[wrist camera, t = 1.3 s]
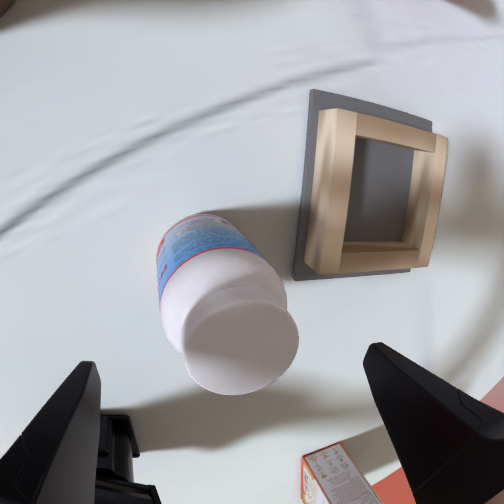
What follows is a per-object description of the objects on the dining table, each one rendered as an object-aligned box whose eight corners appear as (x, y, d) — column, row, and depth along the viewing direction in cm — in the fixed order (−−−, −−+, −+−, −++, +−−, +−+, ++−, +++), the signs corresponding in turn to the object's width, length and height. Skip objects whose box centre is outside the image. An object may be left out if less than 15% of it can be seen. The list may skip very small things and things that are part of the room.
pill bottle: (140, 237, 20) (130, 330, 10) (223, 196, 21) (289, 250, 11) (181, 309, 23) (208, 426, 13) (256, 271, 24) (330, 365, 13)
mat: (405, 269, 28) (409, 271, 28) (292, 277, 25) (295, 280, 24) (427, 121, 24) (431, 121, 23) (310, 90, 20) (313, 89, 20)
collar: (409, 257, 27) (427, 266, 25) (303, 261, 24) (319, 274, 22) (427, 136, 24) (447, 138, 21) (318, 110, 20) (337, 108, 18)
